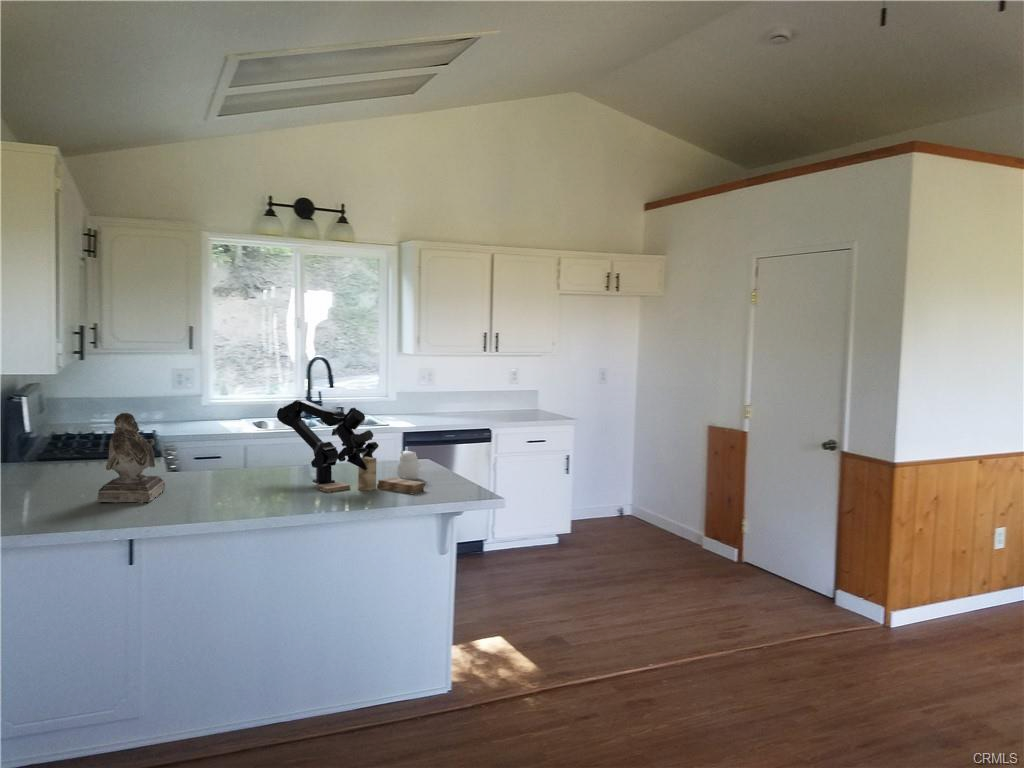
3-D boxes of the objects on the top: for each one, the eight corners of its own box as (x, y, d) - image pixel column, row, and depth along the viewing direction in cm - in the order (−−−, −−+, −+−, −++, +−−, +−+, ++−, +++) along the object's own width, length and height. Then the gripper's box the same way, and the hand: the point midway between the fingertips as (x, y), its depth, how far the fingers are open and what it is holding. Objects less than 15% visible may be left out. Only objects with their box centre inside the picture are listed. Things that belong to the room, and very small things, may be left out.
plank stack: (376, 488, 288) (377, 480, 288) (388, 485, 295) (388, 477, 294) (413, 494, 280) (413, 485, 280) (424, 490, 287) (425, 482, 286)
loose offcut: (317, 489, 284) (317, 485, 283) (340, 485, 291) (340, 481, 290) (326, 492, 279) (326, 488, 279) (349, 489, 286) (350, 484, 286)
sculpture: (149, 503, 255) (148, 416, 253) (96, 504, 252) (95, 416, 250) (165, 491, 273) (164, 410, 271) (116, 491, 271) (115, 409, 268)
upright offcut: (358, 489, 286) (358, 458, 285) (365, 486, 290) (366, 456, 289) (368, 490, 284) (368, 459, 283) (375, 488, 288) (376, 457, 287)
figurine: (415, 483, 300) (416, 453, 299) (392, 481, 302) (393, 452, 301) (423, 478, 310) (423, 449, 309) (401, 476, 312) (401, 448, 311)
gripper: (343, 426, 279) (366, 458, 274) (375, 421, 295) (397, 452, 291) (327, 445, 283) (349, 477, 279) (359, 439, 299) (380, 469, 295)
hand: (370, 468), depth 286 cm, fingers closed on upright offcut, 4 cm apart
